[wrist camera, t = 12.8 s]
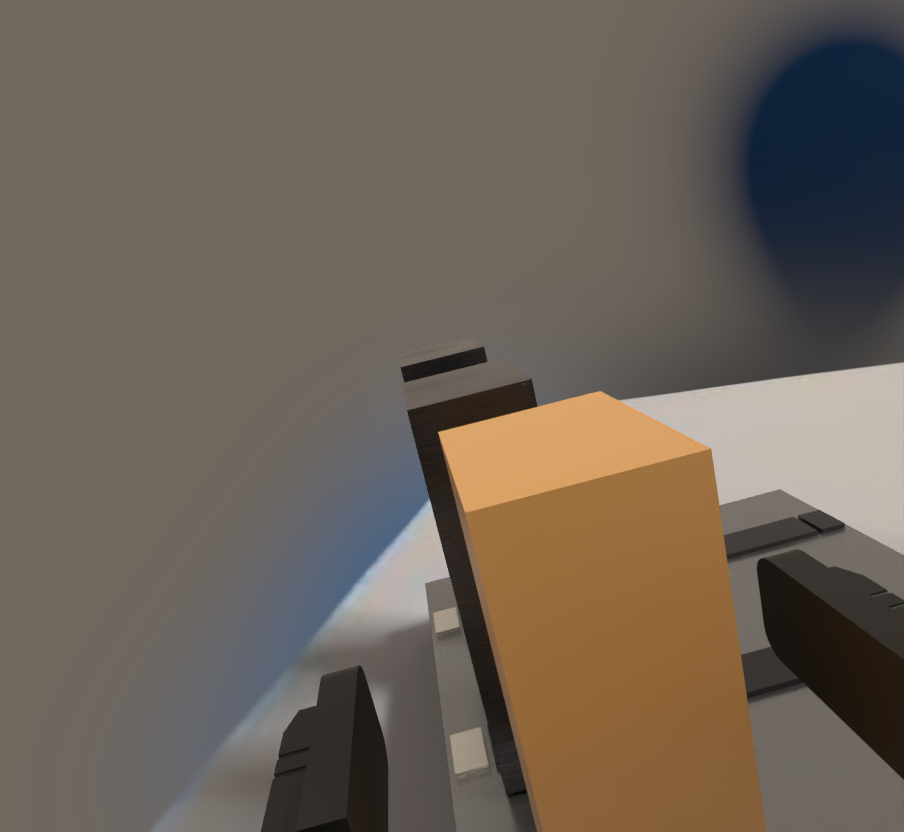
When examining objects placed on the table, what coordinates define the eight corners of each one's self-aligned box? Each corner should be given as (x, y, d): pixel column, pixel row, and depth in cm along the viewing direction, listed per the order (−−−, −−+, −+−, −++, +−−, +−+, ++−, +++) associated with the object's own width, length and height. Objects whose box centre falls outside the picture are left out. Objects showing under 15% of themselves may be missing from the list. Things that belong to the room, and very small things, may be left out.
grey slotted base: (570, 1553, 8) (267, 679, 5) (437, 628, 31) (364, 357, 28) (1748, 1151, 9) (2081, 191, 6) (785, 535, 32) (752, 261, 29)
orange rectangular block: (623, 1159, 10) (465, 512, 7) (556, 909, 14) (438, 431, 11) (805, 1101, 10) (711, 449, 7) (687, 870, 14) (599, 390, 11)
